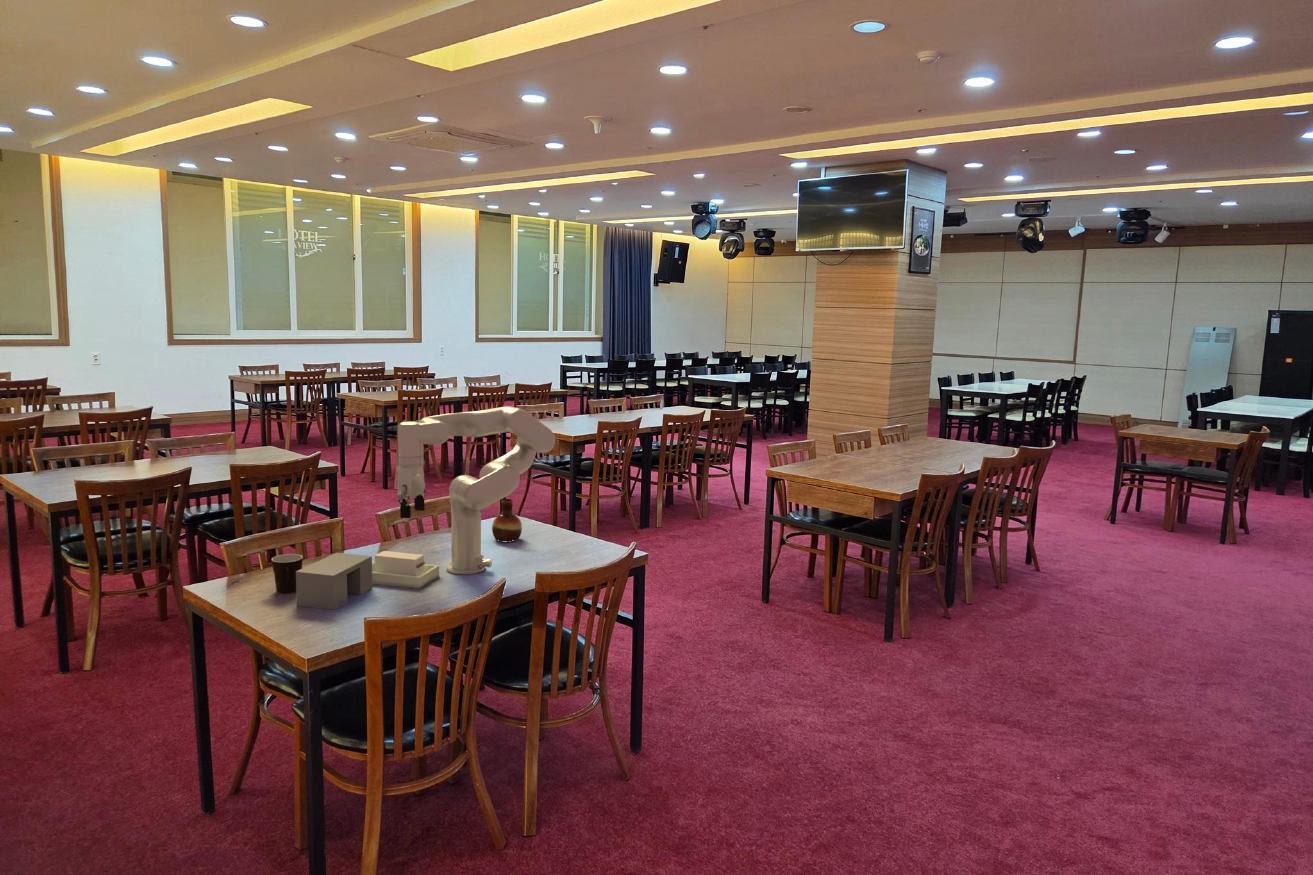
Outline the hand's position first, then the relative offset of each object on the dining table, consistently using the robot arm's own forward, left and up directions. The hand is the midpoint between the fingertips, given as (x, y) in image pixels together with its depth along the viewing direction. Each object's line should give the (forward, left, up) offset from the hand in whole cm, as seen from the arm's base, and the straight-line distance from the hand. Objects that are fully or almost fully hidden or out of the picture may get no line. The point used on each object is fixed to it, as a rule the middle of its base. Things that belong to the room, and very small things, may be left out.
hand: (412, 514), depth 263 cm
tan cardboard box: (+3, +3, -20) cm, 21 cm away
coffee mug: (+29, +24, -21) cm, 43 cm away
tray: (+4, +3, -21) cm, 21 cm away
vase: (-11, -51, -21) cm, 57 cm away
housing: (+13, +23, -21) cm, 33 cm away
